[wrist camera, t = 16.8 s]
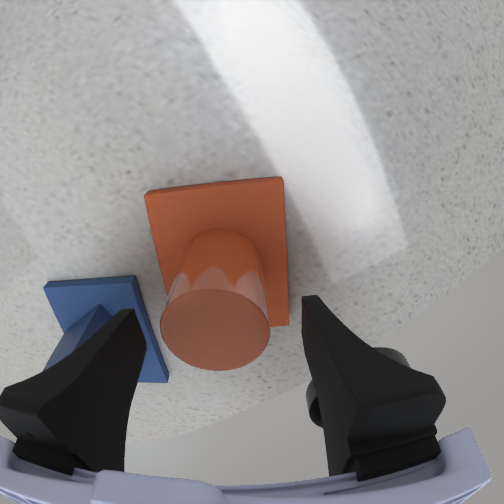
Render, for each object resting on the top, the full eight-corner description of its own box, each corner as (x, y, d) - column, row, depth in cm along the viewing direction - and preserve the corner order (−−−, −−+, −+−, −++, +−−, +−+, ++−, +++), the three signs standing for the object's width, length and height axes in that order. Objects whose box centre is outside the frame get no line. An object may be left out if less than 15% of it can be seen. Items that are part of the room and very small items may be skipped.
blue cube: (148, 348, 20) (132, 399, 16) (110, 368, 21) (93, 415, 17) (99, 303, 18) (72, 351, 14) (66, 329, 19) (40, 373, 15)
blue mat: (169, 375, 22) (167, 383, 21) (92, 372, 22) (89, 379, 21) (134, 275, 18) (131, 282, 17) (48, 281, 18) (42, 287, 17)
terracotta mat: (287, 317, 20) (289, 325, 19) (179, 325, 20) (177, 333, 19) (281, 176, 16) (283, 180, 15) (147, 191, 16) (143, 195, 15)
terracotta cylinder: (264, 296, 18) (272, 367, 13) (189, 302, 18) (174, 372, 13) (259, 225, 16) (266, 283, 11) (174, 233, 16) (147, 292, 11)
